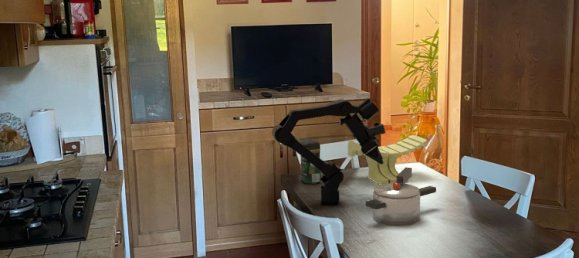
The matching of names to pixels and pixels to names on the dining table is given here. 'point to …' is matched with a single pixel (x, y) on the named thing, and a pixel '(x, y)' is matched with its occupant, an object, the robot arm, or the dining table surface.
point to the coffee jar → (307, 169)
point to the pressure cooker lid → (398, 187)
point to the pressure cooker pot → (398, 208)
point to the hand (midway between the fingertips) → (382, 161)
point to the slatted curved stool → (387, 158)
